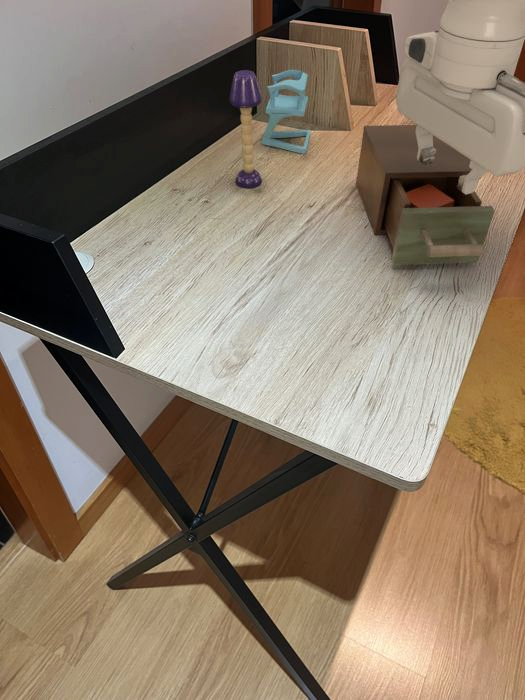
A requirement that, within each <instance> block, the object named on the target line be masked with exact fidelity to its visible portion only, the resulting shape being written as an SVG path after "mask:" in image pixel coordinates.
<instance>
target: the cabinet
mask: <svg viewBox="0 0 525 700" xmlns="http://www.w3.org/2000/svg"><path fill="white" fill-rule="evenodd" d="M416 126H417V124H395V125H394V124H393V125H392V124H391V125H389V124H388V125H387V124H386V125H363V131H362V138H361V145H360V152H359V160H358V166H357V174H356V180H355V186H356V188H357V191H358V194H359V197H360V200H361V202H362V204H363V208H364V210H365V213H366V216H367V218H368V221H369V223H370V226H371V229H372V232H373V234H374V236H379V235H380V236H381V235H382V236H384V235H387V236H388V234H387V231H386V229H385V226H384V224H383V221H382V220H383V215H384V210H385V204H386V199H387V194H388V188H389V183H390V178H429V177H460V176H463V175H467V174H469V173H470V172H471V170H472V169H471V168H470V167H469V165H470V161H471V160H470V159H469V158H467V157H466V156H464V155H463V154H461V153H460V152H458V151H457V150H455V149H453V148H452V147H450V146H449V145H447V144H446V143H444V142H443V141H441V140H440V139H438V138H437V137H435V136H434V135H433V147H434V148H435V149H436V150H437V151H436V155H435V160H434V162H433V163H431V164H426V165H424V164H423V163H421V162H420V161H418V160H417V154H418V149H419V147H418V143H417V137H416V132H415V131H416Z"/></svg>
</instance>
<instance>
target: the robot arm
mask: <svg viewBox="0 0 525 700" xmlns="http://www.w3.org/2000/svg"><path fill="white" fill-rule="evenodd" d="M524 43H525V0H448V1H447V5H446V7H445V9H444V12H443V13H442V16H441V18H440V22H439V25H438V30H434V31H430V32H423V33H418V34H414V35H410V36H409V35H408V37H407V38H406V39H405V44H404V55H405V57H406V58H405V59H404V61H403V63H402V65H401V69H400V74H399V77H398V83H397V89H396V95H395V96H396V97H395V103H396V109H397V112H398V113H399V114H400V115H402V116H403V117H404V118H406V119H407V120H409V121H411V122H412V123H414V125H417V126H416V131H415V132H416V137H417V143H418V147H419V149H418V154H417V160H418V161H420V162H421V163H423V164H424V165H426V164H431V163H433V162H434V160H435V155H436V151H437V150H436V149H435V148H434V147H433V135H434V136H435V137H437V138H438V139H440V140H441V141H443V142H444V143H446V144H447V145H449V146H450V147H452V148H453V149H455V150H457V151H458V152H460V153H461V154H463V155H464V156H466V157H467V158H469V159H470V160H471V161H470V165H469V167H470V168H471V169H472V170H471V172H470V173H469V174H467V175H463V176H460V177H459V180H458V183H459V184H457V188H458V189H459V190H460V191H461V192H463V193H464V194H470V193H473V192H474V191H475V192H476V190H477V189H478V188H477V187H478V184H479V181H480V180H481V179H483V177H484V176H485V175H487V173H490V174H491V175H493V176H495V177H498V178H499V177H504V176H509V175H512V174H513V175H514V174H516V173H518V172H520V171H521V170H523V169H525V82H524V81H522V80H520V79H519V78H517V77H516V76H514V75H515V72H516V69H517V65H518V62H519V58H520V56H521V52H522V49H523V47H524V46H523V45H524Z"/></svg>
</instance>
